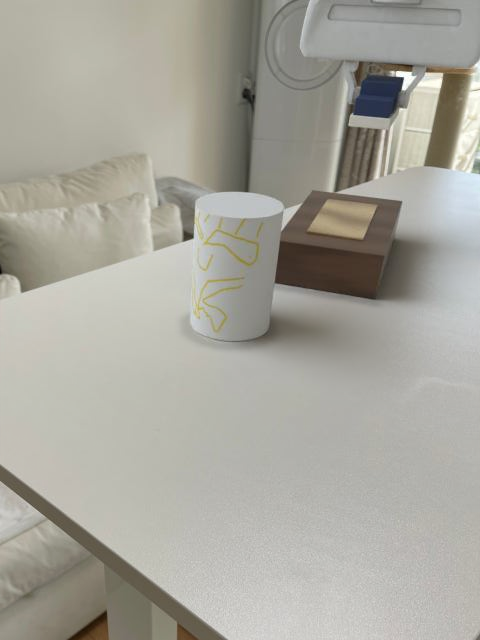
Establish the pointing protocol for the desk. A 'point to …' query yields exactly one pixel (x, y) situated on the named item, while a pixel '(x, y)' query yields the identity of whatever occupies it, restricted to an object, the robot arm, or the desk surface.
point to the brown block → (338, 243)
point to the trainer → (376, 102)
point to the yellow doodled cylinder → (234, 264)
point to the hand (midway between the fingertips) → (376, 105)
